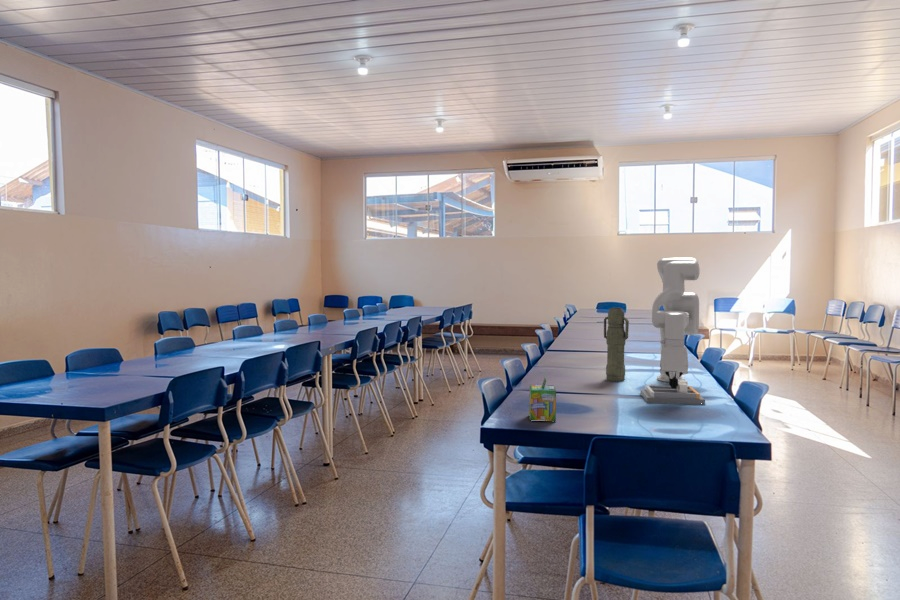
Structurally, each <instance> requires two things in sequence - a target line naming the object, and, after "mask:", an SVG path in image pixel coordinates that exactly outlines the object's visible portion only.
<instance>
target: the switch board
mask: <svg viewBox="0 0 900 600" xmlns="http://www.w3.org/2000/svg"><path fill="white" fill-rule="evenodd" d="M644 387H645V389H644V388H642V389H640V396H641V397H642V398H643V399H644V401H645V402H646V404H653V403H654V404H679V405H681V404H682V405H702V404H705V405H706V399H705V397H703V396H702V395H701V394H700V393H699V392H698V391H697V390H696V389H695V388H693V386H687V393H677V386H676V389H675V388H674V389H672V388H671V386H669V385H652V384H651V385H649V384H648V385H647V384H646V385H644ZM701 403H702V404H701Z"/></svg>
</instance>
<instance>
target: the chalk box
mask: <svg viewBox="0 0 900 600" xmlns="http://www.w3.org/2000/svg"><path fill="white" fill-rule="evenodd" d="M546 382H547V378H546V377H544V379H543V381H542V384H529V395H528V396H529V397H528V398H529V400H528V403H529V404H528V405H529V406H528V417H529V416H530V417H529V421H530V420H545V421H546V420H547V421H556V422H557V420H556V419H557V418H556V417H557V416H556V410H557V409H556V407H557V390H556V387H555V385H546Z"/></svg>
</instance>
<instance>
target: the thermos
mask: <svg viewBox="0 0 900 600" xmlns="http://www.w3.org/2000/svg"><path fill="white" fill-rule="evenodd" d="M607 325H608V326H607ZM629 325H630V321H629V319H628V318H627V317H625V312H624V309H623V308H622V307H617V306H616V307H614V306H613V307H610V308H609V309H608V313H607V316H605V317H604V318H603V337H604V339H606V342H605V343H606V345H607V353H606V354H607V361H606V362H607V363H606V365H605V375H606V376H605V377H606V378H605V380H606V379H607V380H606V381H609V382H624V380H625V381H626V365H625V345H626V340H628V339H629Z"/></svg>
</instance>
